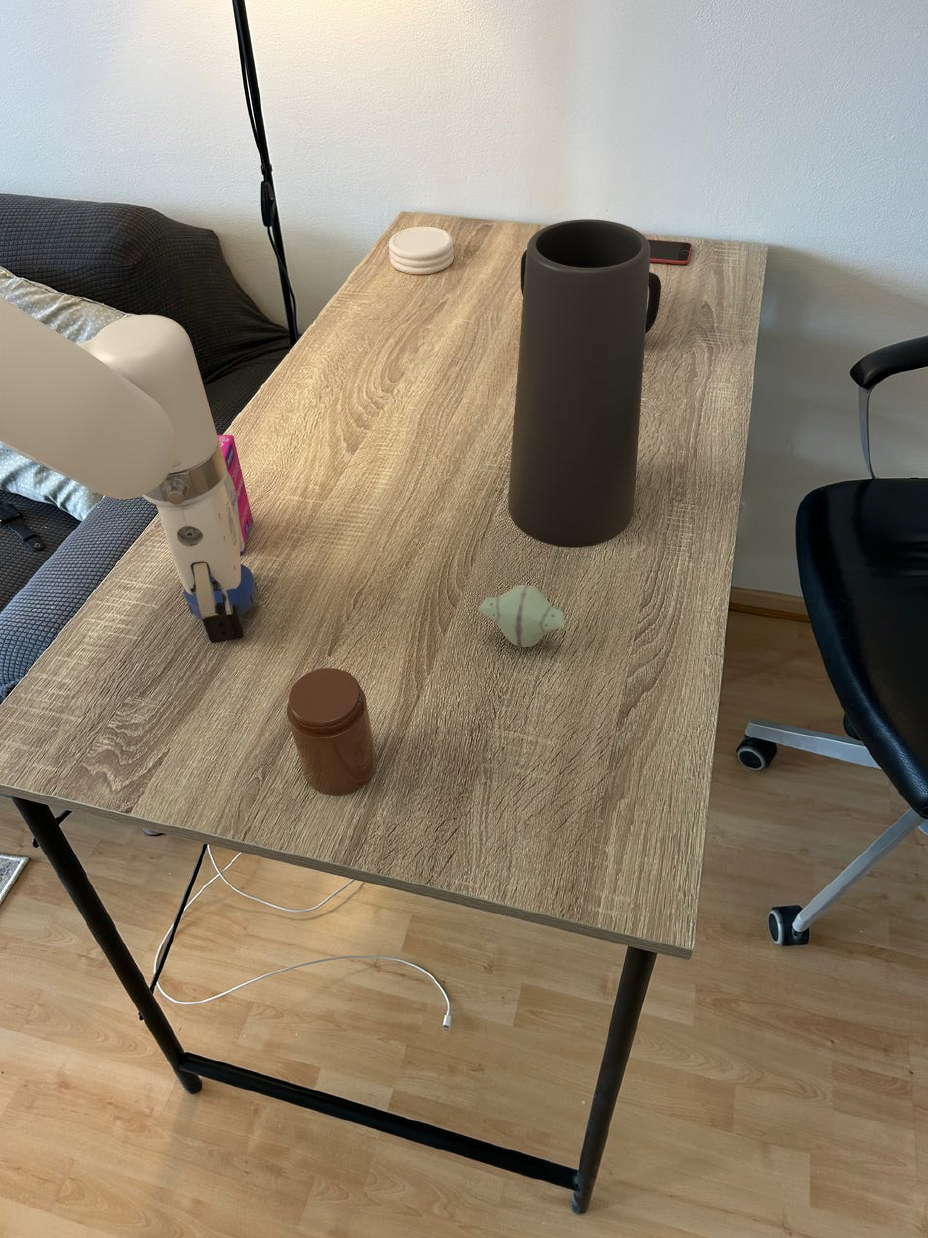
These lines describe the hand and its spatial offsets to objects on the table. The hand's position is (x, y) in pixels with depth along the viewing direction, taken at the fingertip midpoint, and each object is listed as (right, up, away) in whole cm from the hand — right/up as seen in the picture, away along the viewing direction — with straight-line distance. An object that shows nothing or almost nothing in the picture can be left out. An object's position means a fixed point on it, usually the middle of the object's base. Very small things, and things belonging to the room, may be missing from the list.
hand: (226, 610), depth 88 cm
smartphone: (+52, +56, +51) cm, 92 cm away
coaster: (+17, +55, +52) cm, 77 cm away
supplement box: (-2, +8, +8) cm, 11 cm away
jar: (+13, -13, -13) cm, 23 cm away
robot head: (+29, -3, -4) cm, 30 cm away
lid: (0, +2, -2) cm, 3 cm away
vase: (+35, +11, +10) cm, 38 cm away
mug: (+40, +38, +35) cm, 65 cm away
